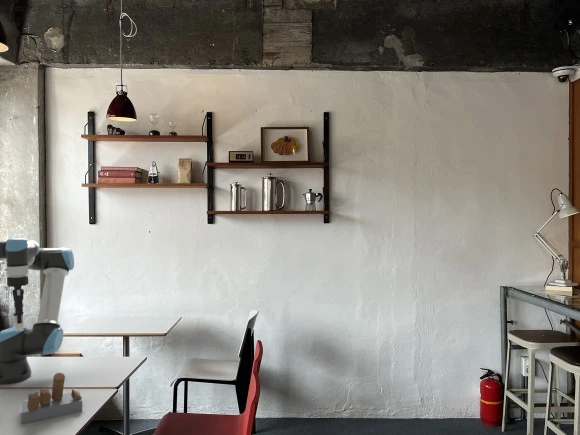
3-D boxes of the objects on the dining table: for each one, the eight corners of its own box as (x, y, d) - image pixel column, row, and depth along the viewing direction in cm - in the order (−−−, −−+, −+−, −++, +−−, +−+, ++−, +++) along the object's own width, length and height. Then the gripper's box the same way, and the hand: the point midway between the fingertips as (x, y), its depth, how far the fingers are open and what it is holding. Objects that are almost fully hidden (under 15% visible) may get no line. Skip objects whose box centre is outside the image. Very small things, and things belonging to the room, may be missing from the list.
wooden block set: (30, 419, 159) (33, 397, 156) (23, 404, 164) (25, 382, 161) (81, 401, 172) (84, 380, 169) (72, 387, 177) (75, 367, 174)
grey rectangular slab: (22, 412, 169) (22, 401, 169) (79, 400, 179) (79, 390, 179) (21, 423, 159) (21, 412, 159) (82, 410, 170) (82, 400, 170)
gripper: (6, 272, 187) (7, 321, 188) (7, 281, 167) (8, 336, 168) (26, 270, 192) (27, 318, 192) (29, 279, 171) (31, 333, 172)
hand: (18, 326), depth 180 cm, fingers open, 13 cm apart
